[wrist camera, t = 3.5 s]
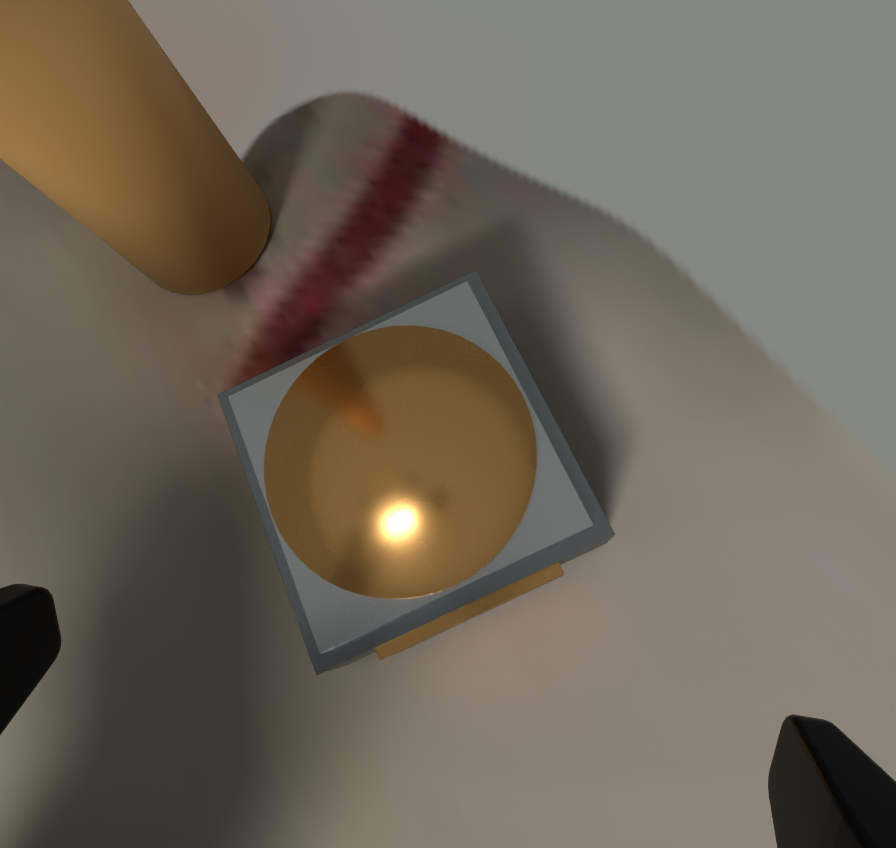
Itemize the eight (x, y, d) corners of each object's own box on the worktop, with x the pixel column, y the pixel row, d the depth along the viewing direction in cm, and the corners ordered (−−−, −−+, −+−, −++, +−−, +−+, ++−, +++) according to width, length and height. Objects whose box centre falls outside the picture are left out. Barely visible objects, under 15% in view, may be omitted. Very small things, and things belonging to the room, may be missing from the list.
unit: (352, 675, 18) (312, 691, 15) (257, 419, 21) (206, 388, 17) (611, 553, 18) (624, 544, 15) (484, 309, 20) (473, 259, 17)
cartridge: (159, 318, 22) (-311, -18, 10) (121, 207, 24) (-328, -205, 11) (289, 254, 22) (-26, -165, 10) (244, 146, 23) (-80, -334, 11)
